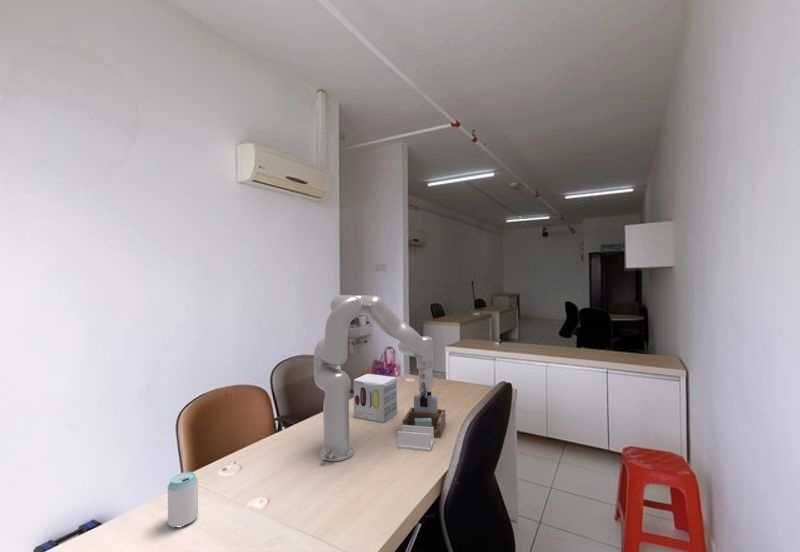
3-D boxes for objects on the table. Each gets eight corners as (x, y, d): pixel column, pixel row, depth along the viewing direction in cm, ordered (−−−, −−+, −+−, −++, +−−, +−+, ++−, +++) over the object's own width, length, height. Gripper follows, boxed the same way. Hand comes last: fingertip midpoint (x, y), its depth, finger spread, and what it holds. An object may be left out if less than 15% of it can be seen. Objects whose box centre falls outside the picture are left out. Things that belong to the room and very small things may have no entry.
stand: (430, 451, 137) (430, 435, 137) (397, 447, 140) (397, 432, 140) (434, 440, 146) (434, 426, 146) (403, 438, 149) (402, 423, 149)
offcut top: (431, 428, 152) (431, 420, 152) (415, 428, 152) (415, 421, 152) (431, 424, 155) (431, 417, 155) (414, 425, 155) (414, 418, 155)
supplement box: (353, 417, 173) (352, 379, 173) (368, 408, 184) (367, 373, 185) (384, 423, 165) (383, 383, 165) (398, 414, 176) (397, 376, 177)
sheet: (436, 428, 158) (436, 398, 158) (414, 426, 161) (413, 397, 161) (438, 425, 162) (437, 395, 162) (416, 423, 164) (415, 394, 164)
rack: (440, 438, 148) (439, 422, 148) (402, 434, 152) (402, 419, 152) (445, 423, 163) (445, 408, 164) (411, 420, 167) (410, 406, 168)
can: (203, 512, 103) (202, 469, 103) (189, 529, 96) (188, 483, 96) (177, 513, 102) (177, 470, 103) (162, 530, 95) (161, 484, 96)
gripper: (429, 369, 152) (430, 410, 152) (436, 360, 169) (437, 397, 169) (412, 368, 154) (413, 409, 154) (420, 360, 171) (421, 396, 171)
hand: (425, 403), depth 161 cm, fingers open, 9 cm apart
